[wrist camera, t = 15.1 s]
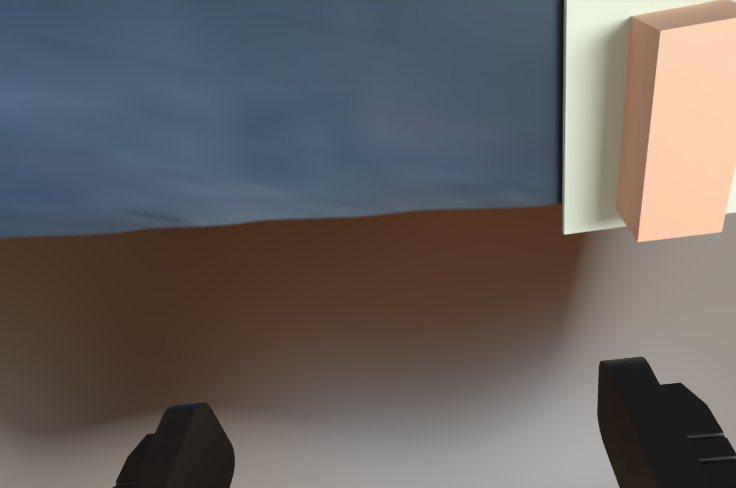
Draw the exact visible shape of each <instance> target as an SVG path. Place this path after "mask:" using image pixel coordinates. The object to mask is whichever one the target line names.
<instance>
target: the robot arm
mask: <svg viewBox="0 0 736 488" xmlns="http://www.w3.org/2000/svg"><path fill="white" fill-rule="evenodd" d="M598 380H599V381H598V408H597V414H598V422H599V428H600V433H601V437H602V440H603V443H604V446H605V449H606V452H607V454H608V457H609V460H610V463H611V465H612V468H613V471H614V474H615V476H616V479H617V482H618V484H619V487H620V488H736V453H735V451H734V449H733V448H732V446H731V444H730V442H729V441H728V439H727V438H725V437H724V434H723V431H722V429H721V427H720V426H719V424H718V422H717V421H716V419H715V417H714V416H713V414H712V412H711V411H710V409H709V408H708V406H707V405H706V404H705V403H704V402H703V401H702V400H701V399H699V398H698V397H697V396H696V395H695V394H693V393H692V392H691V391H690V390H689V389H687V388H686V387H685V386H684V385H683V384H682V383H674V384H663V385H660V384H659V382H658V381H657V379H656V377H655V375H654V373H653V371H652V369H651V367H650V365H649V364H648V362H647V361H646V359H645V358H643V357H634V358H624V359H615V360H605V361H601V362H600V364H599V379H598ZM234 466H235V456H234V450H233V446H232V444H231V442H230V440H229V438H228V437H227V435H226V433H225V432H224V430H223V428H222V426H221V424H220V423H219V421H218V419H217V417H216V416H215V414H214V412H213V410H212V409H211V407H210V405H209V404H207V403H204V402H202V403H193V404H184V405H174V406H171V407H169V408H168V409H167V410H166V411H165V413H164V415H163V417H162V419H161V421H160V423H159V426H158V428H157V430H156V432H155V434H147V435H146V436H145V437H144V439H143V440H142V441H141V442H140V443H139V444H138V446H137V447H136V448H135V449H134V450H133V451H132V452H131V454H130V455H129V456H128V458H127V460H126V462H125V464H124V466H123V468H122V470H121V472H120V474H119V476H118V478H117V481H116V486H115V487H113V488H230V484H231V481H232V477H233V473H234Z"/></svg>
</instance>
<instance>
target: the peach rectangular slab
mask: <svg viewBox="0 0 736 488" xmlns="http://www.w3.org/2000/svg"><path fill="white" fill-rule="evenodd" d="M735 166H736V2H734V1H730V0H718V1H712V2H707V3H701V4H696V5H690V6H684V7H679V8H673V9H668V10H662V11H656V12H651V13H645V14H640V15H634V16H632V18H631V31H630V44H629V56H628V69H627V82H626V94H625V107H624V120H623V132H622V145H621V158H620V170H619V183H618V196H617V208H616V211H617V213H618V214H619V216H620V217H621V219H622V220H623V221H624V223H625V224H626V226H627V227H628V229H629V230H630V232H631V233H632V235H633V236H634V237H635V239H636V240H637V242H643V241H651V240H659V239H667V238H676V237H683V236H692V235H701V234H709V233H716V232H722V228H723V223H724V218H725V214H726V209H727V204H728V200H729V195H730V190H731V185H732V180H733V176H734V171H735Z"/></svg>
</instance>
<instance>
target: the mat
mask: <svg viewBox="0 0 736 488" xmlns="http://www.w3.org/2000/svg"><path fill="white" fill-rule="evenodd" d="M712 1H718V0H564V56H563V175H562V231H563V233H564V234H571V233H580V232H587V231H595V230H603V229H611V228H618V227H626V224H625V223H624V221H623V220H622V219H621V217H620V216H619V214H618V213H617V211H616V208H617V196H618V183H619V170H620V158H621V145H622V132H623V120H624V107H625V94H626V82H627V69H628V56H629V44H630V31H631V18H632V16H634V15H640V14H645V13H651V12H656V11H662V10H668V9H673V8H679V7H684V6H690V5H696V4H701V3H707V2H712ZM730 1H734V2H736V0H730ZM734 212H736V166H735V171H734V176H733V180H732V185H731V190H730V195H729V200H728V204H727V209H726V214H727V213H734Z"/></svg>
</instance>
